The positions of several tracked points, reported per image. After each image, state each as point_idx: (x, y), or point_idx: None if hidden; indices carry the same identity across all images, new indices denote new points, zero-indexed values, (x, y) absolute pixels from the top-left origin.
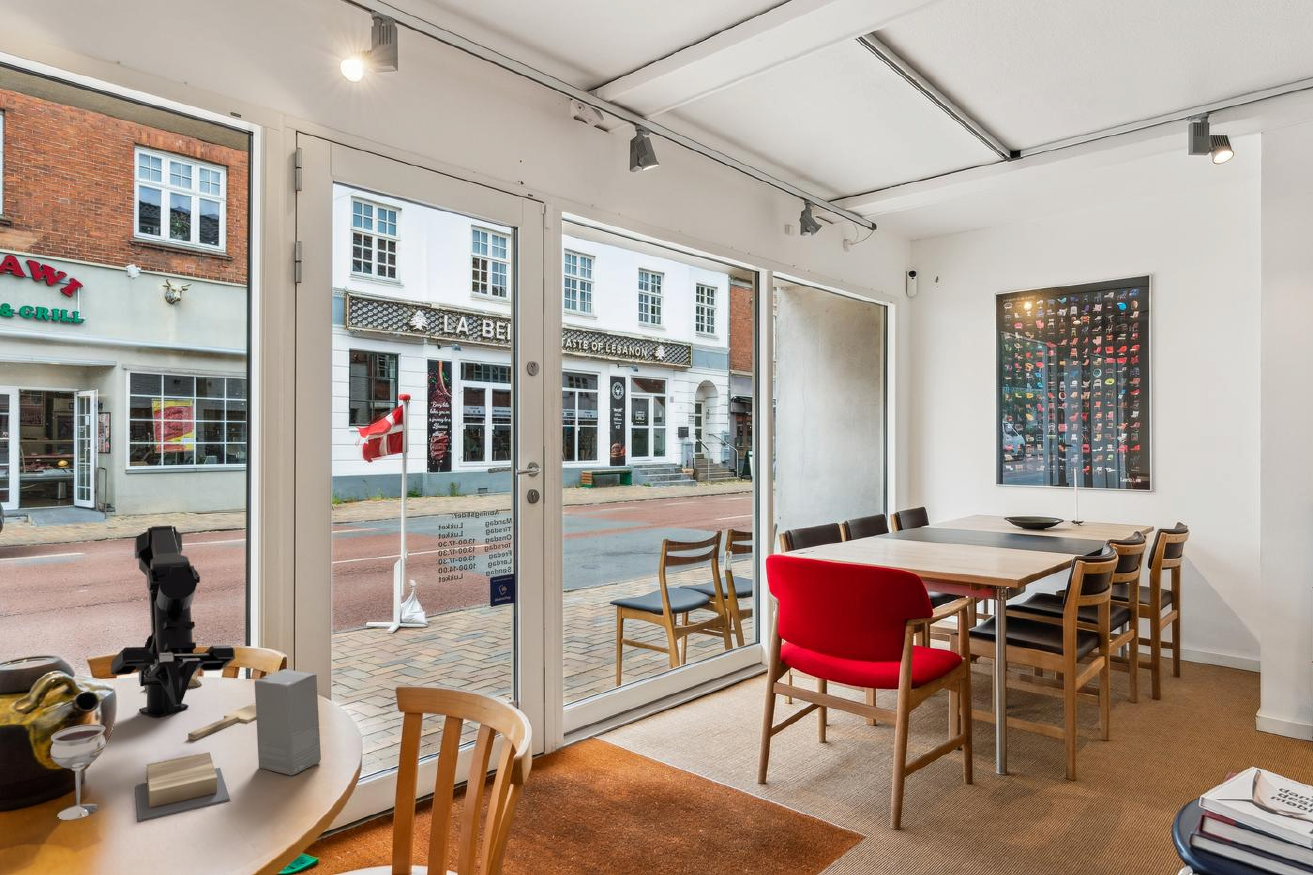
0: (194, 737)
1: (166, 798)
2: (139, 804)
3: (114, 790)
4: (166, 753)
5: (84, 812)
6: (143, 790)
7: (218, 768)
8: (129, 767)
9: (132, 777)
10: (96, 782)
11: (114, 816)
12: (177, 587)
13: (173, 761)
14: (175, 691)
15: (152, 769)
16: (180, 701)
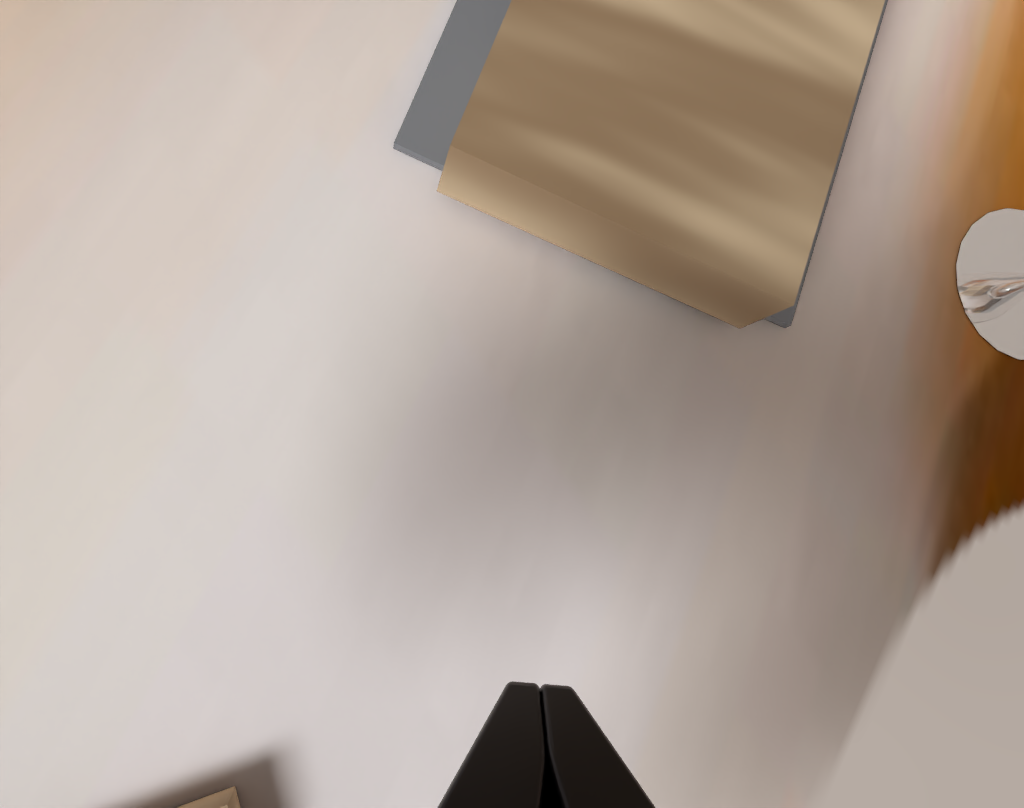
0: (232, 797)
1: None
2: None
3: (860, 377)
4: (480, 688)
5: (1020, 226)
6: None
7: (406, 139)
8: (713, 634)
9: (751, 468)
10: (888, 560)
11: (938, 102)
12: None
13: (673, 204)
14: (632, 800)
15: (797, 200)
16: (527, 691)
